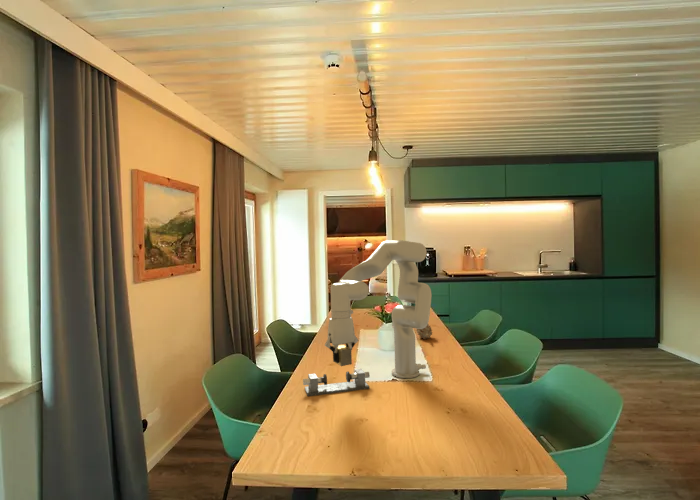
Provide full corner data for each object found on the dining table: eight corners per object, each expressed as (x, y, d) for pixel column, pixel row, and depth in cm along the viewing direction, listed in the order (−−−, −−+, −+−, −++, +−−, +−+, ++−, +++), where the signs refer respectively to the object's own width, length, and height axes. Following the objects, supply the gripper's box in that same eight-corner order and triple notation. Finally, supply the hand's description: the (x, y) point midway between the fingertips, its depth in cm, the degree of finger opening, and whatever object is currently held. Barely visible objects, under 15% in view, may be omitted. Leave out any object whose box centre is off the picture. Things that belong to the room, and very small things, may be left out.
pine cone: (414, 335, 255) (413, 320, 254) (428, 335, 255) (428, 319, 255) (422, 344, 233) (421, 327, 232) (438, 344, 233) (438, 327, 233)
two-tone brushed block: (333, 361, 159) (332, 346, 158) (343, 359, 161) (342, 344, 161) (341, 366, 152) (340, 350, 152) (351, 364, 155) (351, 348, 154)
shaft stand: (366, 381, 175) (365, 366, 175) (371, 388, 167) (371, 372, 167) (302, 389, 168) (301, 373, 168) (305, 396, 160) (304, 380, 160)
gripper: (355, 310, 163) (356, 355, 164) (317, 315, 155) (318, 362, 156) (364, 313, 157) (365, 359, 157) (325, 318, 149) (327, 367, 149)
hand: (342, 360), depth 157 cm, fingers closed on two-tone brushed block, 4 cm apart
